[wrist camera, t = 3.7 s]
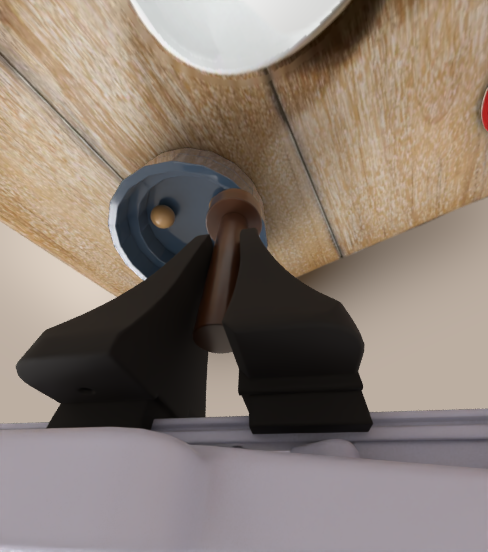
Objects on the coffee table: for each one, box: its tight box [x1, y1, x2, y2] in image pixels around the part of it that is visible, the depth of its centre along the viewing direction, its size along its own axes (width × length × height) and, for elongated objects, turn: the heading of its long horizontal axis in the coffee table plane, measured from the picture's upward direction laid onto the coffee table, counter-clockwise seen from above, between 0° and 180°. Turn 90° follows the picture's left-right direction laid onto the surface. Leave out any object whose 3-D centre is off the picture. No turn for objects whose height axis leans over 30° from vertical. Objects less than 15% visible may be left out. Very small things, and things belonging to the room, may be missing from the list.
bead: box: [151, 205, 175, 229], centre depth 19 cm, size 2×2×2 cm
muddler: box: [192, 188, 262, 353], centre depth 10 cm, size 3×3×9 cm
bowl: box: [108, 148, 268, 281], centre depth 19 cm, size 12×12×4 cm
